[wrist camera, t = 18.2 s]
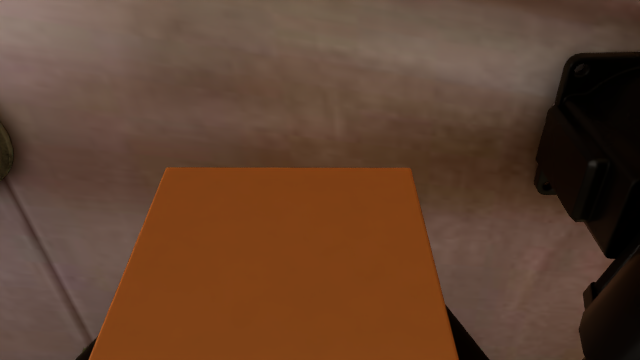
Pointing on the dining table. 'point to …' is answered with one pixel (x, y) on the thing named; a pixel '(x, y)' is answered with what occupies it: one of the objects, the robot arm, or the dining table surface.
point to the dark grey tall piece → (5, 153)
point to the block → (280, 270)
